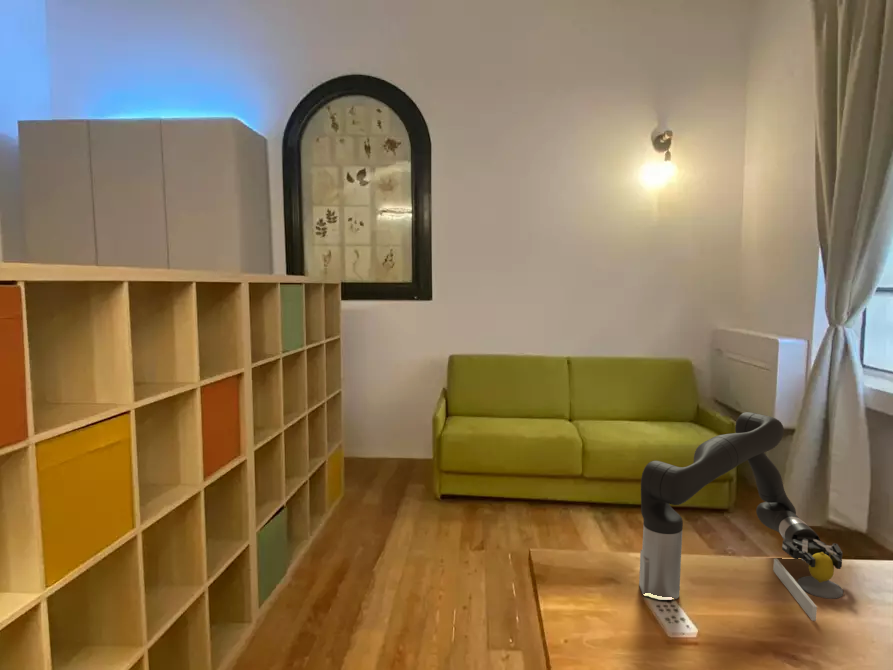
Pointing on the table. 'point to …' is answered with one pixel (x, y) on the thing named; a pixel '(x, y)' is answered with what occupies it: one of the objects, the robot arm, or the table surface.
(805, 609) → the low wall
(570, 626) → the table surface
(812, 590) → the slate mat
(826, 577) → the lemon
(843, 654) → the table surface
